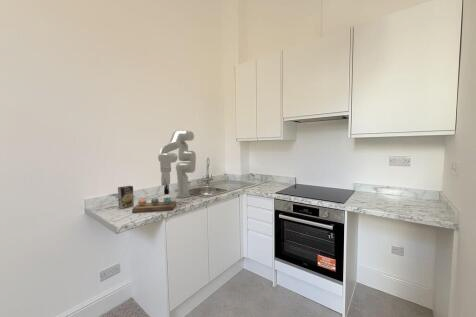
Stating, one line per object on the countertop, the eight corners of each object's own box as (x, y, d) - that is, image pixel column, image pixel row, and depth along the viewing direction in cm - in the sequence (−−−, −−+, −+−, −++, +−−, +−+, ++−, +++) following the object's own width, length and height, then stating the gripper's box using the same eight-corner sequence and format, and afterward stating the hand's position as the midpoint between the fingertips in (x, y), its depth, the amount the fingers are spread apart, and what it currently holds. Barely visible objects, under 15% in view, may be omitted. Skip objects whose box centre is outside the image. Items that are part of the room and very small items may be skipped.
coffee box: (122, 209, 157) (120, 188, 156) (118, 207, 161) (117, 187, 160) (134, 206, 164) (133, 186, 163) (130, 204, 168) (129, 185, 167)
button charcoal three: (152, 202, 158) (152, 198, 158) (159, 201, 159) (159, 198, 159) (150, 204, 153) (150, 200, 153) (157, 203, 154) (157, 199, 154)
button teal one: (164, 201, 160) (164, 197, 159) (171, 201, 160) (171, 197, 160) (163, 203, 155) (163, 199, 154) (170, 202, 155) (170, 199, 155)
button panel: (138, 207, 161) (138, 203, 161) (175, 204, 165) (175, 201, 165) (132, 213, 148) (132, 208, 147) (172, 210, 152) (172, 206, 151)
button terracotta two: (139, 203, 157) (139, 199, 157) (146, 202, 158) (146, 198, 157) (137, 204, 152) (137, 200, 152) (144, 204, 153) (144, 200, 153)
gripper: (162, 169, 162) (163, 192, 163) (158, 171, 148) (159, 196, 149) (172, 168, 163) (173, 191, 164) (169, 170, 149) (170, 196, 150)
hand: (166, 194), depth 156 cm, fingers closed
